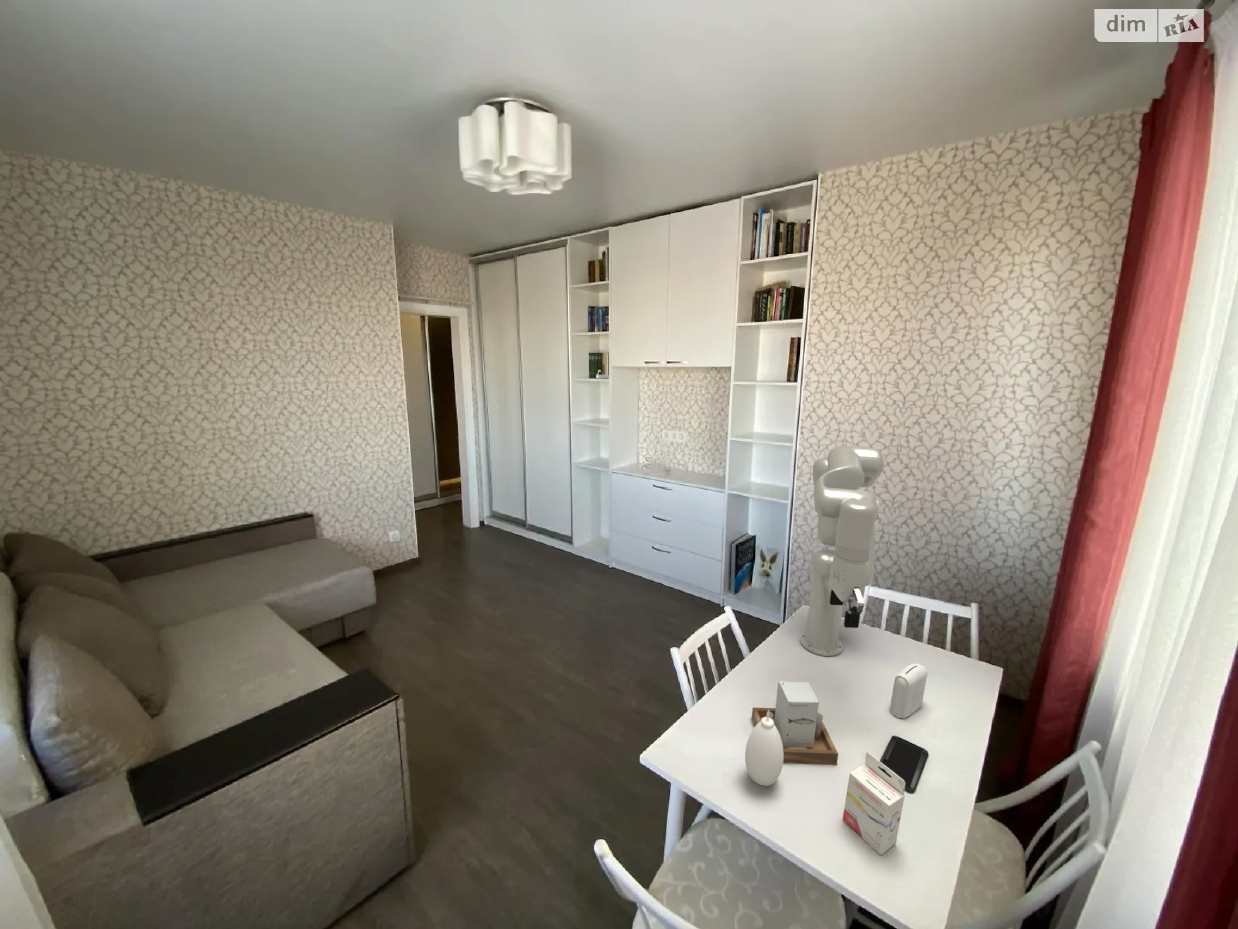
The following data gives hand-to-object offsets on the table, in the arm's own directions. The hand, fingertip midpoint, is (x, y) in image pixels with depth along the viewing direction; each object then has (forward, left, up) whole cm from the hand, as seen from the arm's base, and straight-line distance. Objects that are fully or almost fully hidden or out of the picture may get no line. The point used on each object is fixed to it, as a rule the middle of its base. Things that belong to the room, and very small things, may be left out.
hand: (843, 615), depth 123 cm
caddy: (+9, -13, -28) cm, 32 cm away
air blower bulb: (+21, -23, -28) cm, 42 cm away
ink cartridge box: (+32, -5, -28) cm, 43 cm away
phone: (+15, +10, -29) cm, 34 cm away
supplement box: (+9, -13, -27) cm, 31 cm away
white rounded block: (-3, +20, -28) cm, 35 cm away
